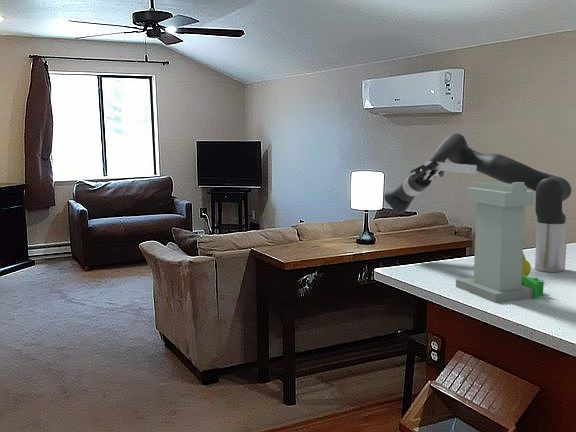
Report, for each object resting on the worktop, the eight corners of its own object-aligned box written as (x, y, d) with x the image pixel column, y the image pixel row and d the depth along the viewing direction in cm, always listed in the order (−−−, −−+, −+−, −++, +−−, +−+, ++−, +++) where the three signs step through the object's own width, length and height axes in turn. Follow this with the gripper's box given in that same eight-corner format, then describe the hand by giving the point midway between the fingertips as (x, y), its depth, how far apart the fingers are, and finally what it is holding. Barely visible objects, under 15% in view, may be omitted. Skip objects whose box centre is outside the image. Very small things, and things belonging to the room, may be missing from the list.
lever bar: (430, 168, 213) (430, 161, 212) (476, 173, 188) (476, 165, 188) (424, 168, 212) (424, 161, 211) (469, 173, 187) (469, 165, 187)
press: (491, 282, 193) (496, 177, 188) (533, 297, 175) (539, 181, 170) (455, 286, 188) (459, 178, 183) (494, 302, 170) (499, 183, 166)
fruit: (508, 274, 203) (510, 240, 202) (529, 276, 201) (531, 242, 199) (509, 279, 197) (510, 244, 195) (530, 281, 195) (532, 245, 193)
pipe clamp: (547, 299, 174) (547, 284, 174) (534, 299, 174) (535, 284, 174) (532, 289, 185) (533, 274, 185) (520, 289, 185) (521, 274, 185)
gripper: (397, 174, 219) (420, 152, 204) (429, 173, 223) (454, 152, 208) (402, 192, 216) (425, 172, 201) (434, 191, 221) (459, 171, 206)
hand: (440, 162), depth 205 cm, fingers closed on lever bar, 2 cm apart
